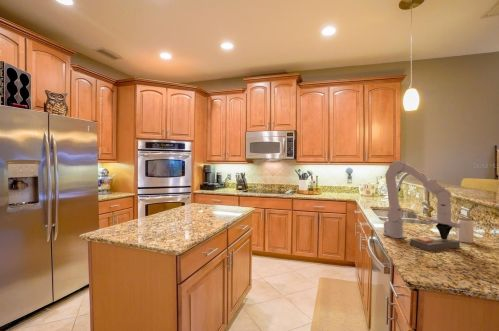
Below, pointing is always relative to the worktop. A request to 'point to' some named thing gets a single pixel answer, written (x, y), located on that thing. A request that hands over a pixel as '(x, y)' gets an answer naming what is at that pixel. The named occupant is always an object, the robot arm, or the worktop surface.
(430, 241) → the terracotta key
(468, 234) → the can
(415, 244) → the keypad
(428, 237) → the cream key
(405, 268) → the worktop surface
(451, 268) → the worktop surface
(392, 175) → the robot arm
